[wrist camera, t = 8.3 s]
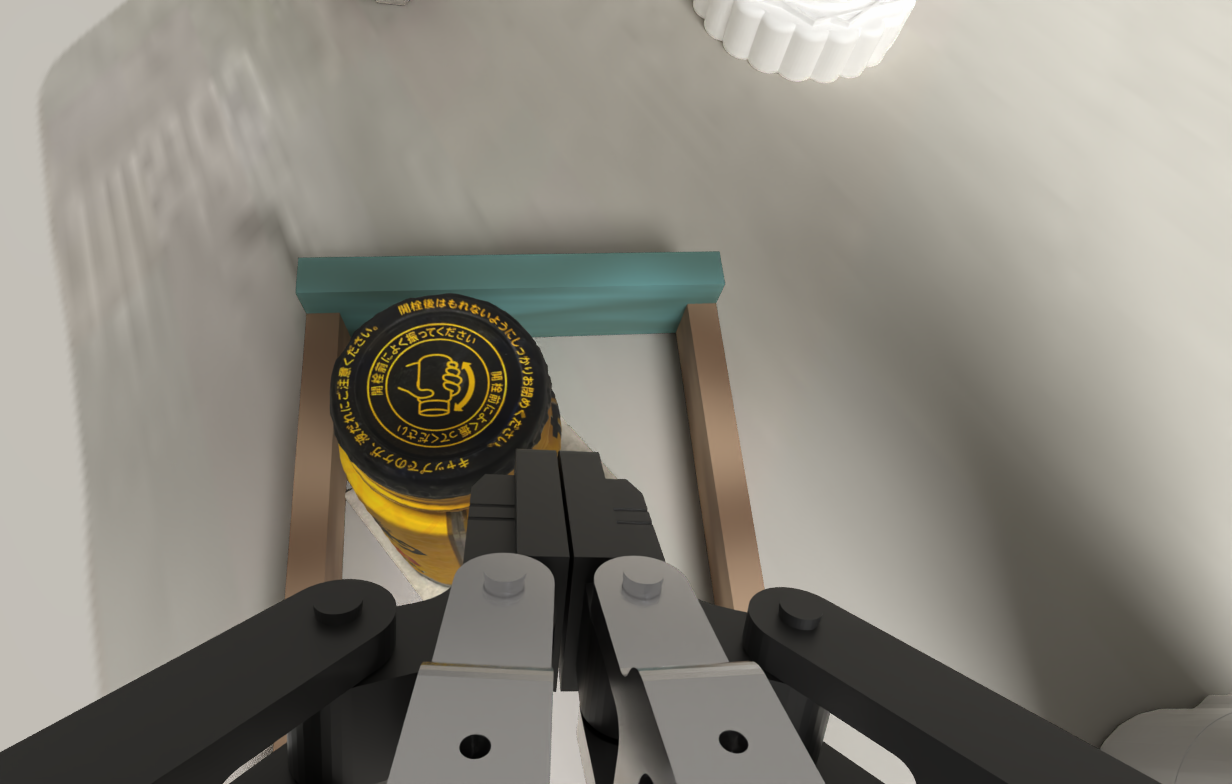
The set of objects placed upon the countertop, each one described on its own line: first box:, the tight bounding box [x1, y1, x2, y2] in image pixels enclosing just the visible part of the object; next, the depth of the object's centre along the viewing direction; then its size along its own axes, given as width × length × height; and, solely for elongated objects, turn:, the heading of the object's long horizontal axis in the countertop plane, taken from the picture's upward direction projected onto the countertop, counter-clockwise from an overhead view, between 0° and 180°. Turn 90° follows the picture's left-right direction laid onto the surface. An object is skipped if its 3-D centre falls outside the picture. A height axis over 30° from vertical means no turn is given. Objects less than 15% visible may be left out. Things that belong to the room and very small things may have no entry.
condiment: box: [330, 293, 617, 601], centre depth 23 cm, size 7×8×12 cm
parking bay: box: [273, 251, 765, 752], centre depth 26 cm, size 20×16×4 cm
